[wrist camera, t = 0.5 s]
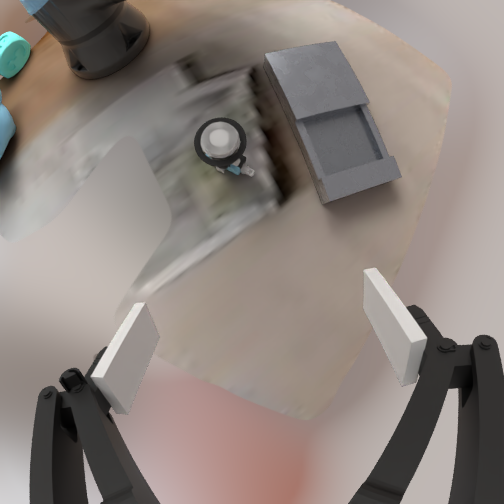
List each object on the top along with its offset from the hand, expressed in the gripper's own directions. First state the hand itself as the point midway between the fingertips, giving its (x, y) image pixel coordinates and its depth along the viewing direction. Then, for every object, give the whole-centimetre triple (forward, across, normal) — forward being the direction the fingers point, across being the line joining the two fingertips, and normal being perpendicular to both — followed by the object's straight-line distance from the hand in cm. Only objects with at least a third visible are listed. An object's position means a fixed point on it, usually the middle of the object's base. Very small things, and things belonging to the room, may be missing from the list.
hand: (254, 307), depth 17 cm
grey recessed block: (+27, +12, +10) cm, 32 cm away
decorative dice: (+33, -44, +41) cm, 68 cm away
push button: (+25, -2, +6) cm, 25 cm away
